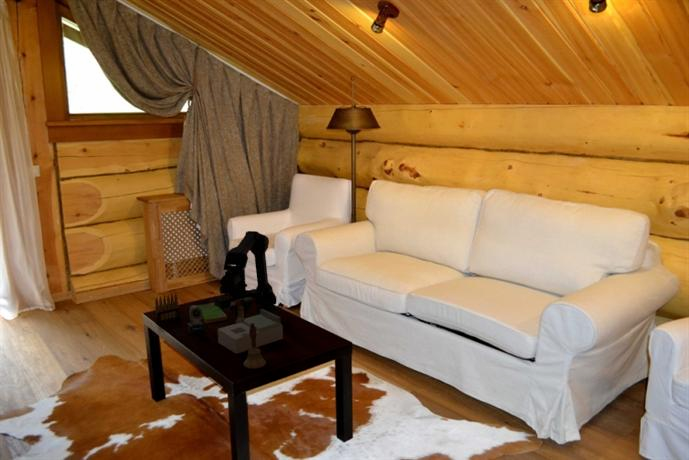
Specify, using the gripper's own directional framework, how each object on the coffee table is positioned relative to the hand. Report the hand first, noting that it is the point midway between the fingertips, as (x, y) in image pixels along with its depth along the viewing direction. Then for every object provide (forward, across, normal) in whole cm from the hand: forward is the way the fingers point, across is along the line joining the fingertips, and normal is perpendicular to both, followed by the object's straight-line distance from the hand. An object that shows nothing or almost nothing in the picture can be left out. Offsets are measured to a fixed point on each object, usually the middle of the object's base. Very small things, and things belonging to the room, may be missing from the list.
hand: (239, 318), depth 230 cm
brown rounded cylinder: (+1, 0, 0) cm, 1 cm away
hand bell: (+11, +5, +18) cm, 22 cm away
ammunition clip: (+11, +10, -45) cm, 47 cm away
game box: (+12, -8, -39) cm, 41 cm away
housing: (+11, -5, -1) cm, 12 cm away
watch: (+11, +7, -26) cm, 29 cm away
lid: (+5, -10, -1) cm, 11 cm away
